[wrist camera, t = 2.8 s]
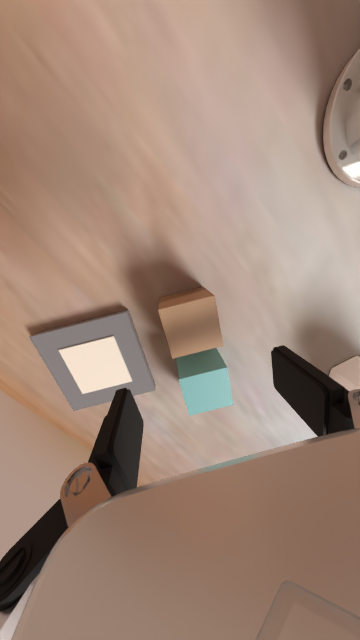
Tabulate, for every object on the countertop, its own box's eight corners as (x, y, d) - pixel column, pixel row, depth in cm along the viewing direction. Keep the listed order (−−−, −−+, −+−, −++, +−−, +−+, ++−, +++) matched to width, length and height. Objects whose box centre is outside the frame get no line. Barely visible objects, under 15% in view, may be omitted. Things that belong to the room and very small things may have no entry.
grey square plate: (35, 333, 24) (28, 337, 23) (128, 309, 24) (126, 312, 22) (77, 404, 28) (72, 411, 27) (155, 384, 28) (154, 391, 27)
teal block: (175, 353, 27) (178, 379, 21) (214, 344, 27) (227, 367, 21) (184, 384, 29) (189, 415, 23) (220, 375, 29) (233, 404, 23)
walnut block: (159, 297, 24) (157, 309, 18) (202, 286, 24) (214, 295, 18) (170, 336, 26) (172, 358, 20) (210, 326, 26) (223, 345, 20)
